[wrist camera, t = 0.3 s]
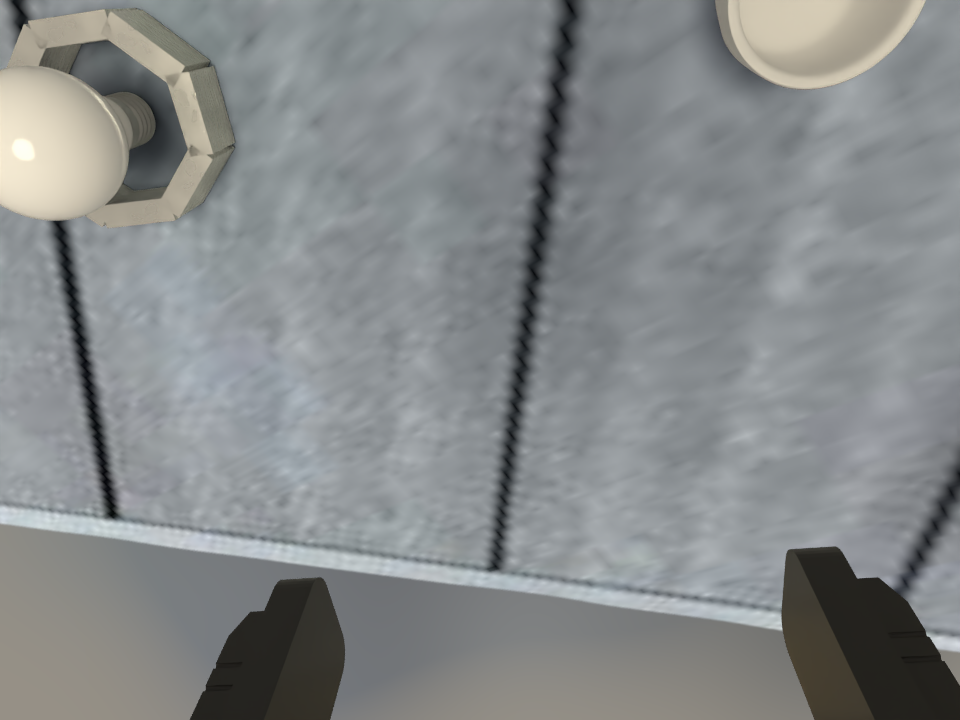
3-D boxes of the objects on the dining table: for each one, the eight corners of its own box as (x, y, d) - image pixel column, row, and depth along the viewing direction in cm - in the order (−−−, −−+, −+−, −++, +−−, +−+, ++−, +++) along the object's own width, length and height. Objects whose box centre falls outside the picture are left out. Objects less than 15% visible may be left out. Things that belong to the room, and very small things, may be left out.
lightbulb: (214, 163, 38) (106, 221, 28) (110, 188, 39) (-29, 253, 29) (164, 38, 35) (25, 54, 25) (53, 68, 36) (-121, 96, 26)
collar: (10, 27, 35) (-32, 30, 33) (195, -1, 34) (167, -1, 32) (85, 218, 40) (53, 234, 37) (251, 198, 39) (230, 214, 36)
